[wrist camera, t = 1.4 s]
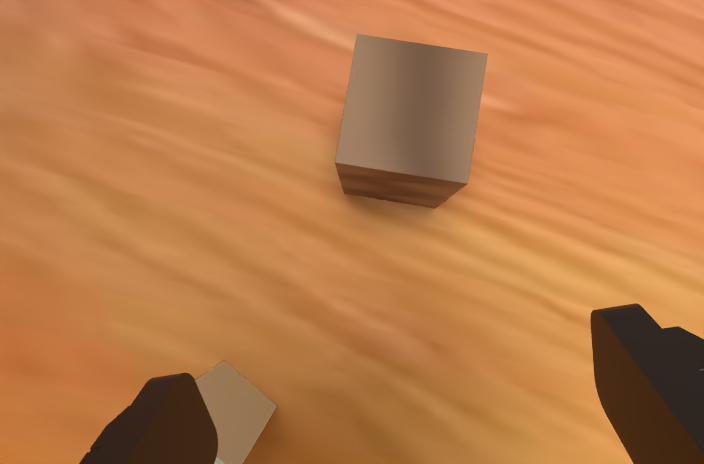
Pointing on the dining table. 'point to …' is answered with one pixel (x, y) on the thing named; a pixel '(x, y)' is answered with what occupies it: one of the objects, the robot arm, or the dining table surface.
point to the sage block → (234, 411)
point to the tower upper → (410, 116)
